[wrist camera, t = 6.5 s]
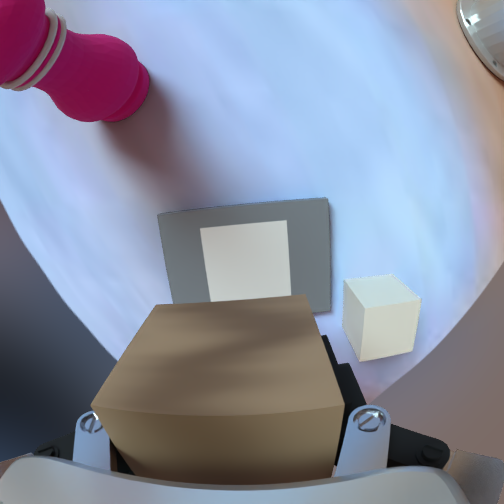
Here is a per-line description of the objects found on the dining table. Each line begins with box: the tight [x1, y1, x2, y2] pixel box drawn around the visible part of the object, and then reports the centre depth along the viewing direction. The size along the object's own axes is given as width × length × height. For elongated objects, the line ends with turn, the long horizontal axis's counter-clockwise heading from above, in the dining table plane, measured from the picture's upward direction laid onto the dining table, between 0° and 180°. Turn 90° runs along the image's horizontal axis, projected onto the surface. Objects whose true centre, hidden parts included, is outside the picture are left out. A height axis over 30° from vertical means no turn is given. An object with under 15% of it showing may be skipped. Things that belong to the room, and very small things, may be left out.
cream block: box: [342, 274, 422, 362], centre depth 24 cm, size 5×5×6 cm
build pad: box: [157, 198, 330, 313], centre depth 25 cm, size 14×10×1 cm
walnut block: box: [91, 294, 345, 485], centre depth 9 cm, size 6×6×6 cm
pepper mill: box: [0, 0, 149, 122], centre depth 12 cm, size 7×7×20 cm
